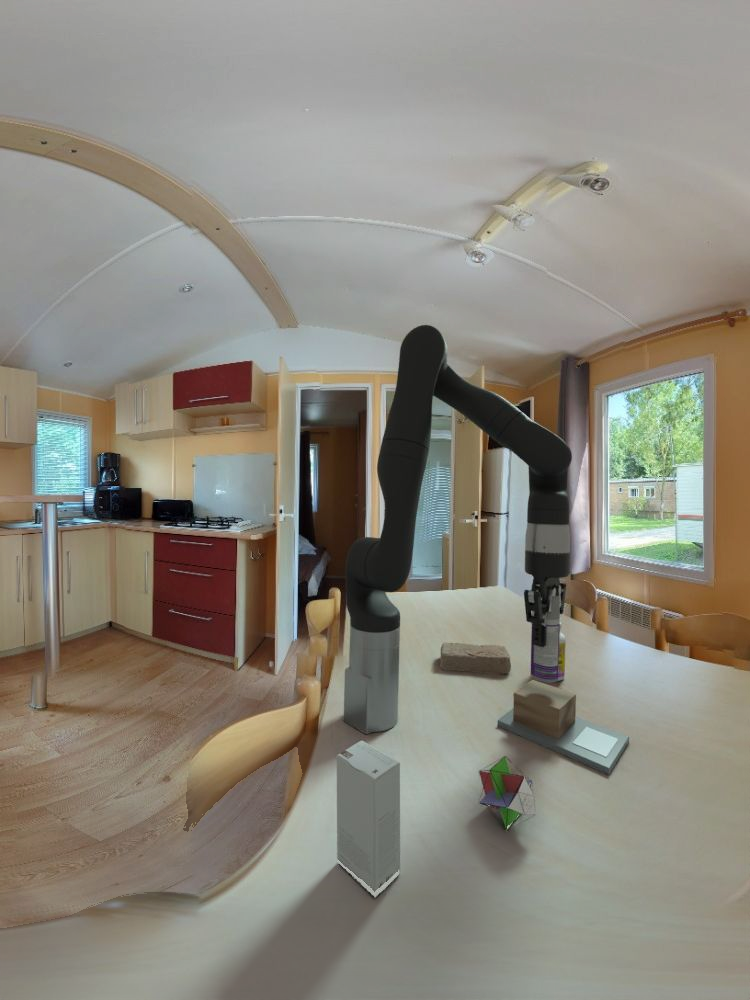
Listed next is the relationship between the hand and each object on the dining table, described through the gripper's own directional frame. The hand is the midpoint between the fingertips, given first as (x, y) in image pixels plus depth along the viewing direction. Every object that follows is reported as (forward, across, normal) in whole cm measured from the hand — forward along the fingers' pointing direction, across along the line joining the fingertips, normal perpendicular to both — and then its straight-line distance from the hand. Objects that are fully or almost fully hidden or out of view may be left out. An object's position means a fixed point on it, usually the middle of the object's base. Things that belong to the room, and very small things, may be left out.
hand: (545, 641), depth 73 cm
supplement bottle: (+16, +23, +8) cm, 29 cm away
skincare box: (+15, -43, +2) cm, 46 cm away
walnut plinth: (+15, 0, 0) cm, 15 cm away
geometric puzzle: (+15, -25, -5) cm, 30 cm away
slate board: (+15, 0, -3) cm, 16 cm away
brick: (+16, +15, +23) cm, 32 cm away
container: (+7, 0, 0) cm, 7 cm away
